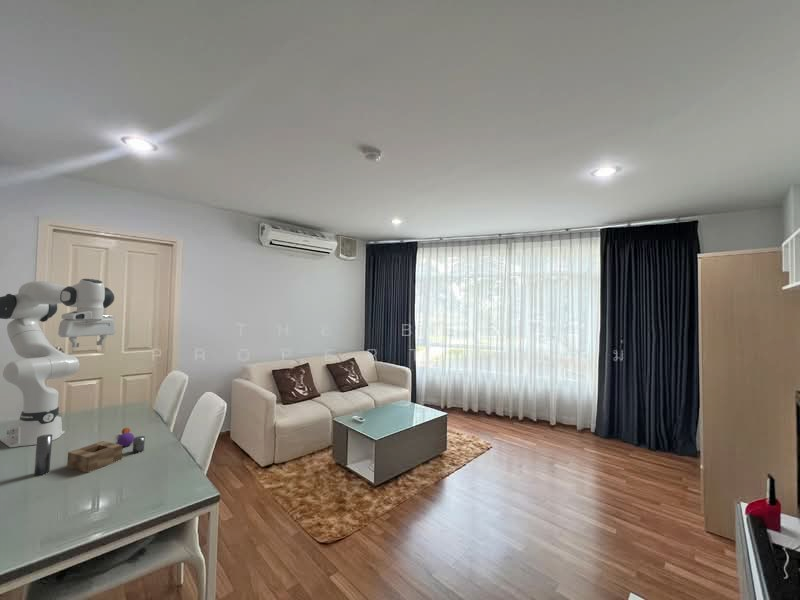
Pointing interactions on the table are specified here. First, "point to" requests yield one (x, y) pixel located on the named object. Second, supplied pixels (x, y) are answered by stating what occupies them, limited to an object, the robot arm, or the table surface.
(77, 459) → the hole block
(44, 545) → the table surface
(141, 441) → the short pin
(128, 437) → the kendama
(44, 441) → the long pin
